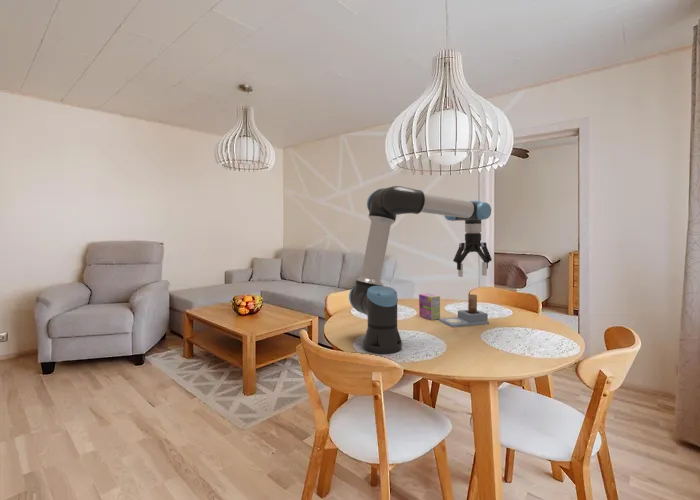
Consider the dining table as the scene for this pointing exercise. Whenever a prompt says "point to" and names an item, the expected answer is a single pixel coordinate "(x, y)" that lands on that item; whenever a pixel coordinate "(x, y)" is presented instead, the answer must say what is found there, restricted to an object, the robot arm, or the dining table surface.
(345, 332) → the dining table surface
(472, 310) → the peg
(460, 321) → the socket board
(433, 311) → the box
